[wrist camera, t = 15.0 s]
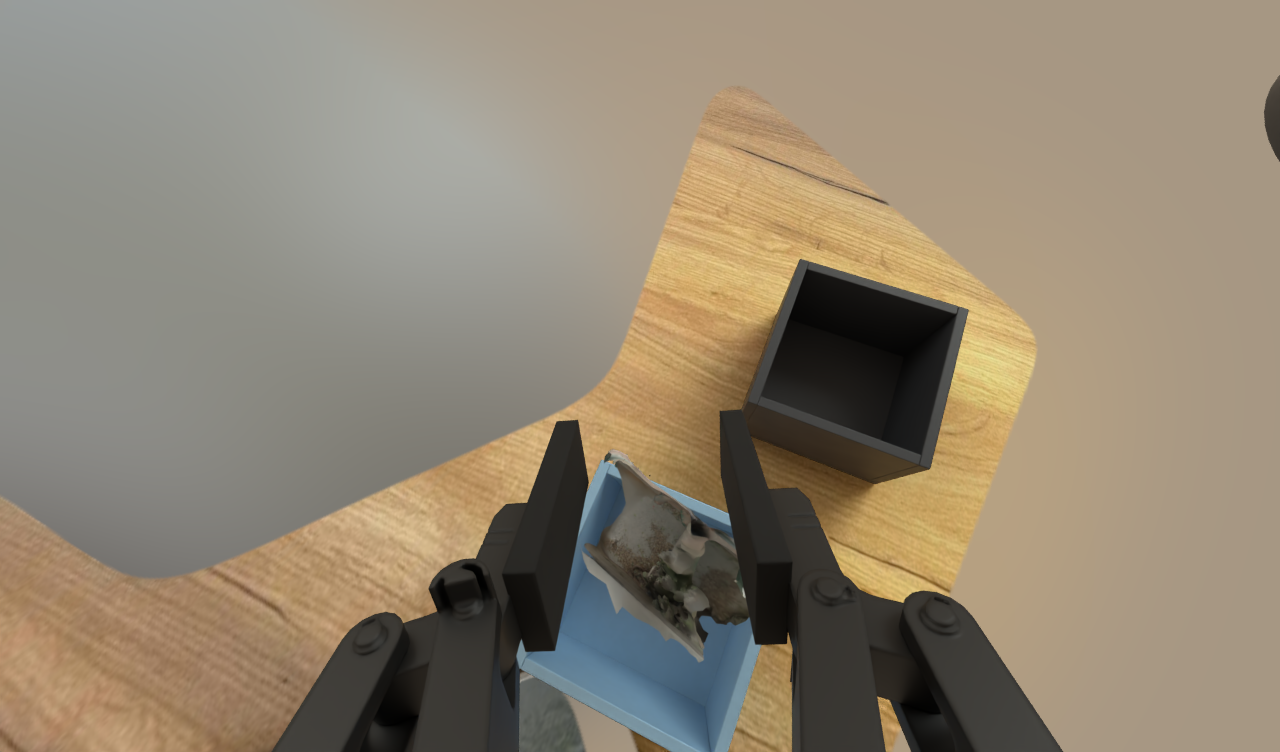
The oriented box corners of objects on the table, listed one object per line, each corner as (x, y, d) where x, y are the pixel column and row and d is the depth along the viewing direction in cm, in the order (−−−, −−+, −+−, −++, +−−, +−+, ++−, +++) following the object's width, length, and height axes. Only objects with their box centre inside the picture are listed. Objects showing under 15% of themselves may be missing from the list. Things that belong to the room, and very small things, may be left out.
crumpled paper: (619, 453, 20) (592, 412, 13) (781, 579, 18) (841, 602, 11) (554, 536, 19) (492, 535, 13) (717, 679, 17) (743, 766, 10)
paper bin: (768, 540, 32) (793, 541, 24) (710, 718, 29) (719, 779, 21) (618, 475, 34) (601, 459, 27) (549, 634, 31) (509, 664, 24)
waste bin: (910, 355, 35) (969, 309, 28) (875, 484, 32) (930, 469, 25) (777, 312, 37) (800, 258, 30) (733, 429, 34) (747, 401, 27)
